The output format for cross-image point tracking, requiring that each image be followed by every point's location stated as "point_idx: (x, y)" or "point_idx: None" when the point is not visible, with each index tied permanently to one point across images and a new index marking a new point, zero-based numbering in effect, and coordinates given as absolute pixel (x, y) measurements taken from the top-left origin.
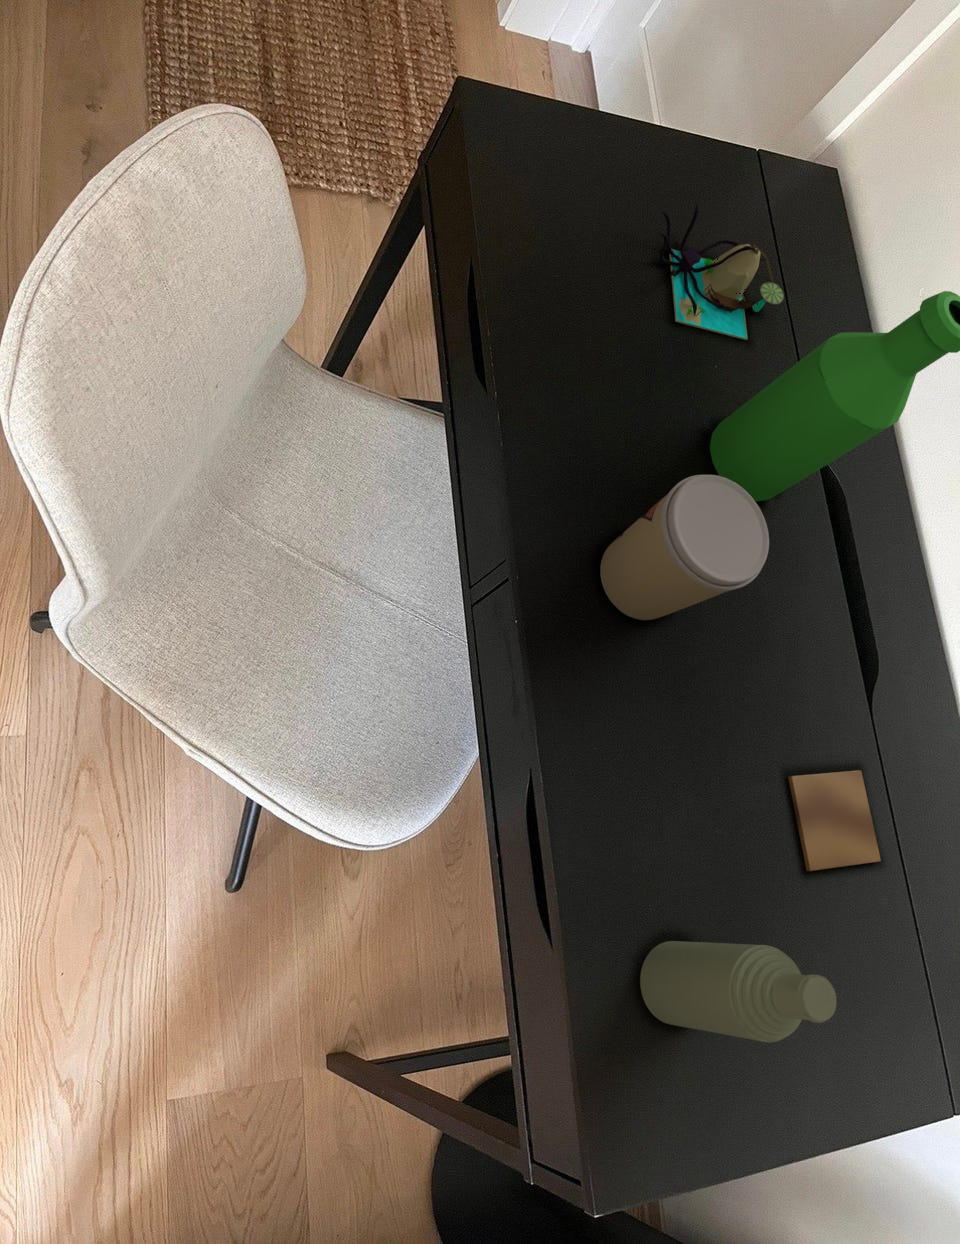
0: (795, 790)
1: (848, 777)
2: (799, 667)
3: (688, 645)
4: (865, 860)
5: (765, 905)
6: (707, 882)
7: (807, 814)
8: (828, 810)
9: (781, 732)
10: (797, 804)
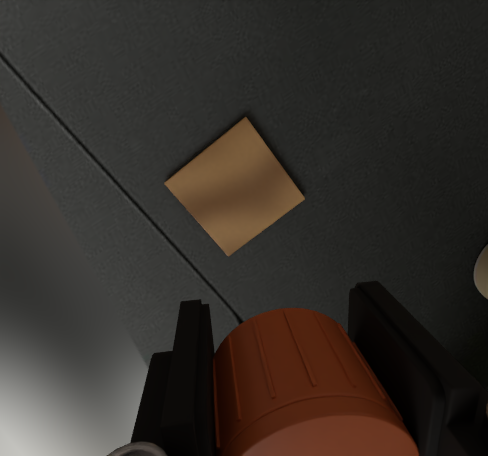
0: (295, 187)
1: (240, 240)
2: (327, 301)
3: (447, 244)
4: (183, 171)
5: (280, 47)
6: (358, 28)
7: (272, 173)
8: (250, 193)
9: (325, 233)
10: (287, 175)
